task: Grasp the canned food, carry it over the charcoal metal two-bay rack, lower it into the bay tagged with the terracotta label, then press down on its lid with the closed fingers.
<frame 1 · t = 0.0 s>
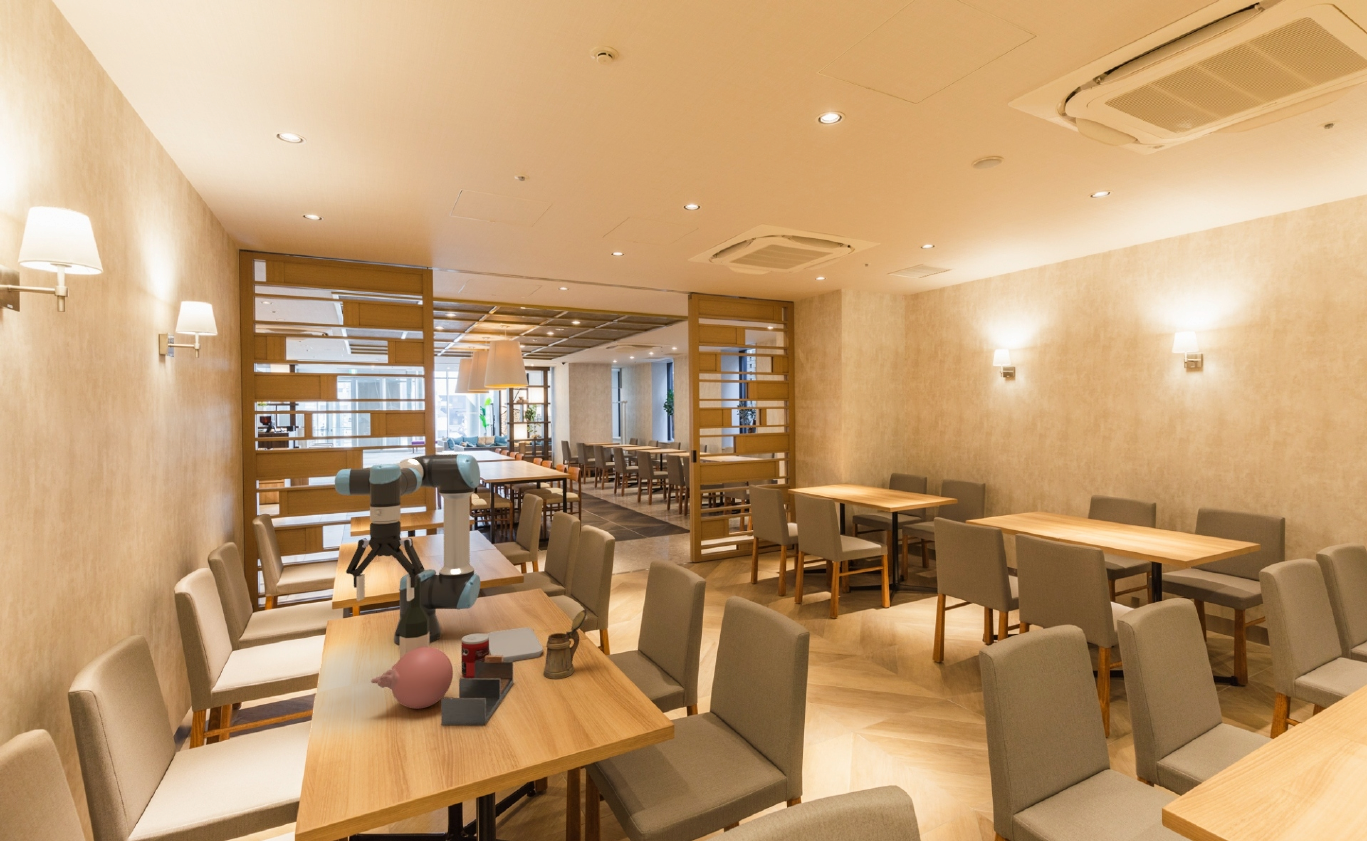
hand: (385, 599, 166), 28 cm above the table, fingers open, 13 cm apart
wine bottle: (414, 675, 184), on the table
canned food: (475, 674, 185), on the table
balloon: (412, 708, 163), on the table
wooden mug: (565, 672, 187), on the table
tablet: (513, 648, 207), on the table
rack: (479, 702, 166), on the table
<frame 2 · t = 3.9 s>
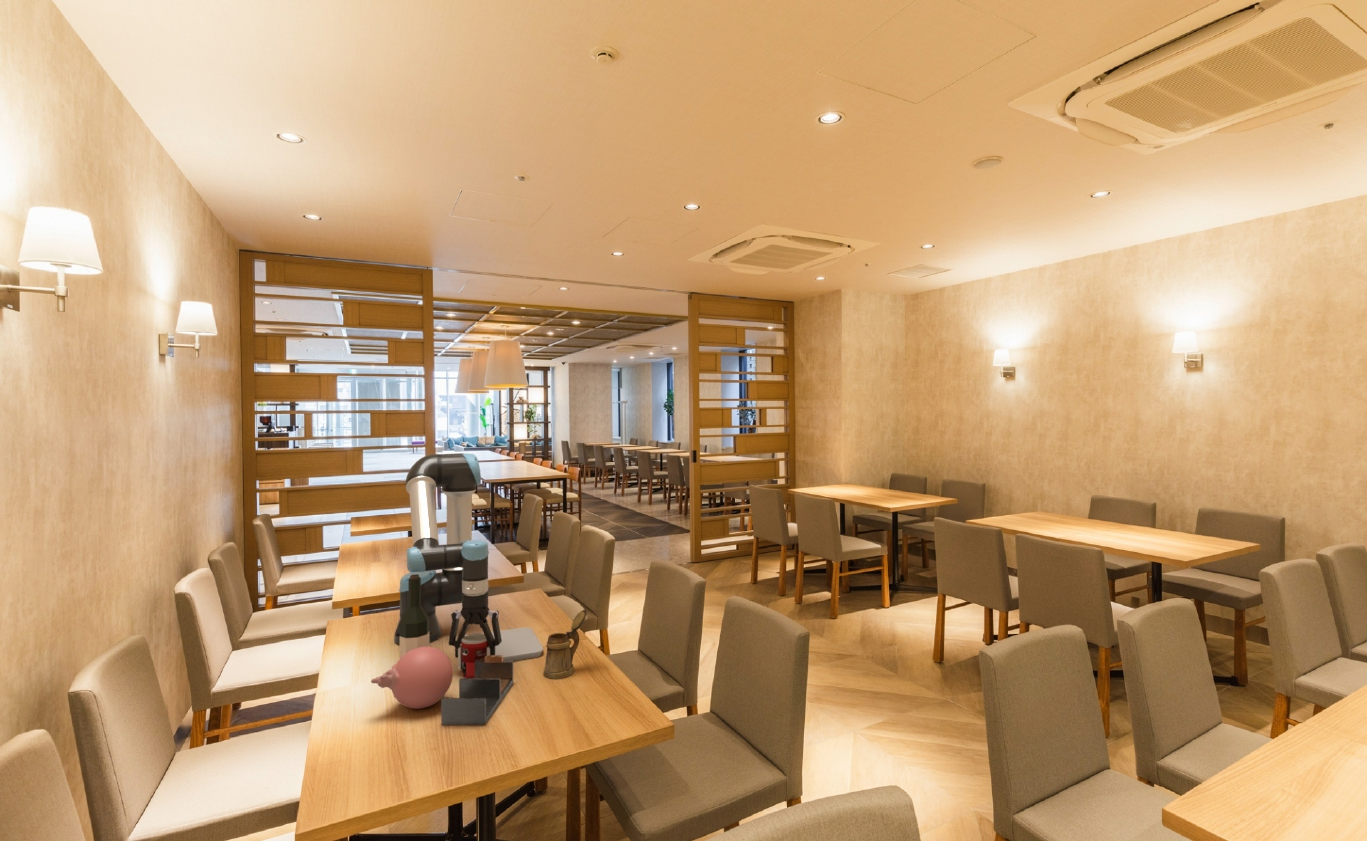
hand: (475, 667, 185), 2 cm above the table, fingers closed on canned food, 8 cm apart
canned food: (475, 674, 185), on the table, touching gripper
everything else where it was.
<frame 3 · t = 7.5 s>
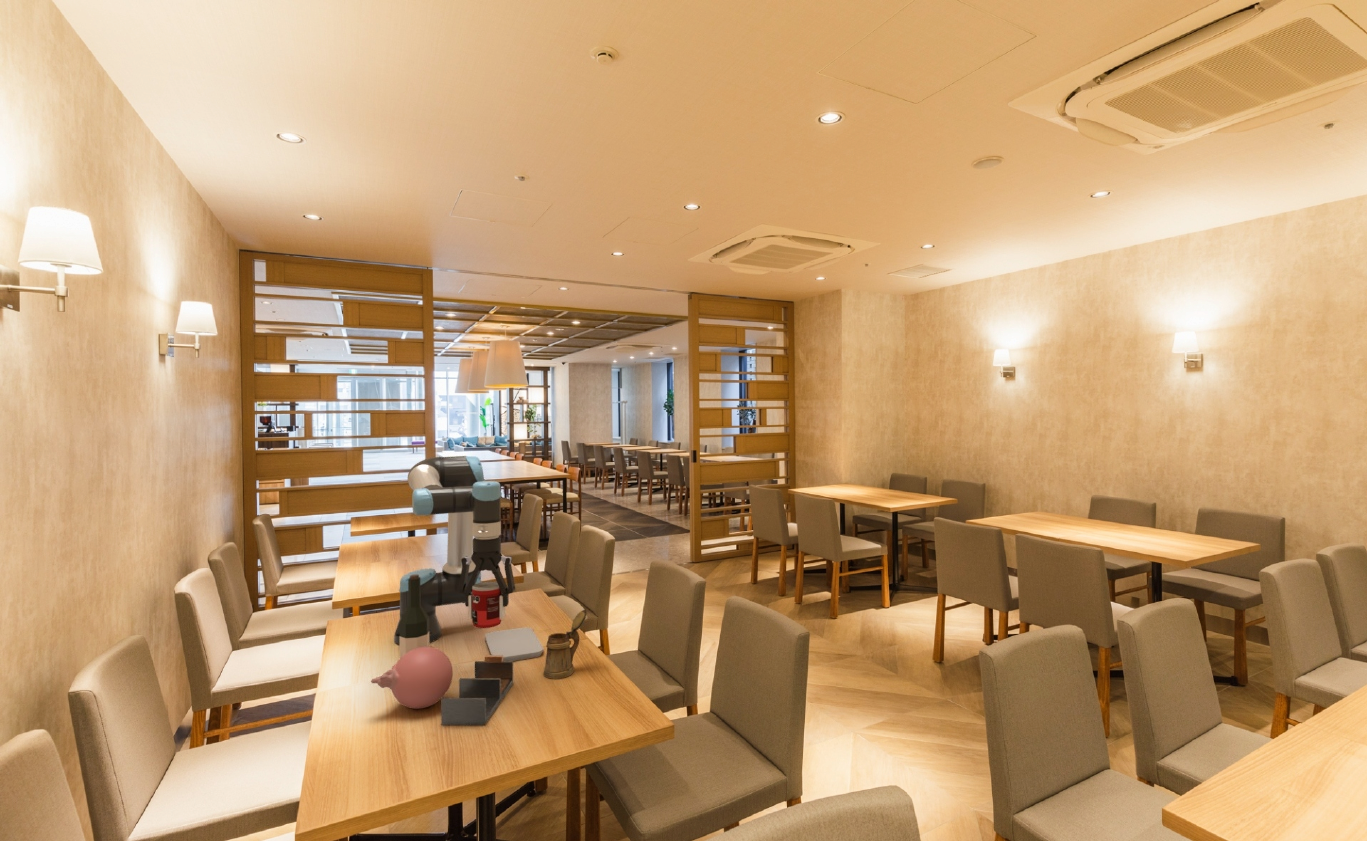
hand: (487, 617, 172), 21 cm above the table, fingers closed on canned food, 8 cm apart
canned food: (487, 624, 172), point 19 cm above the table, touching gripper
everything else where it was.
when the fingers open (5 cm above the table, at t = 11.0 s): canned food drops 1 cm, resting on rack.
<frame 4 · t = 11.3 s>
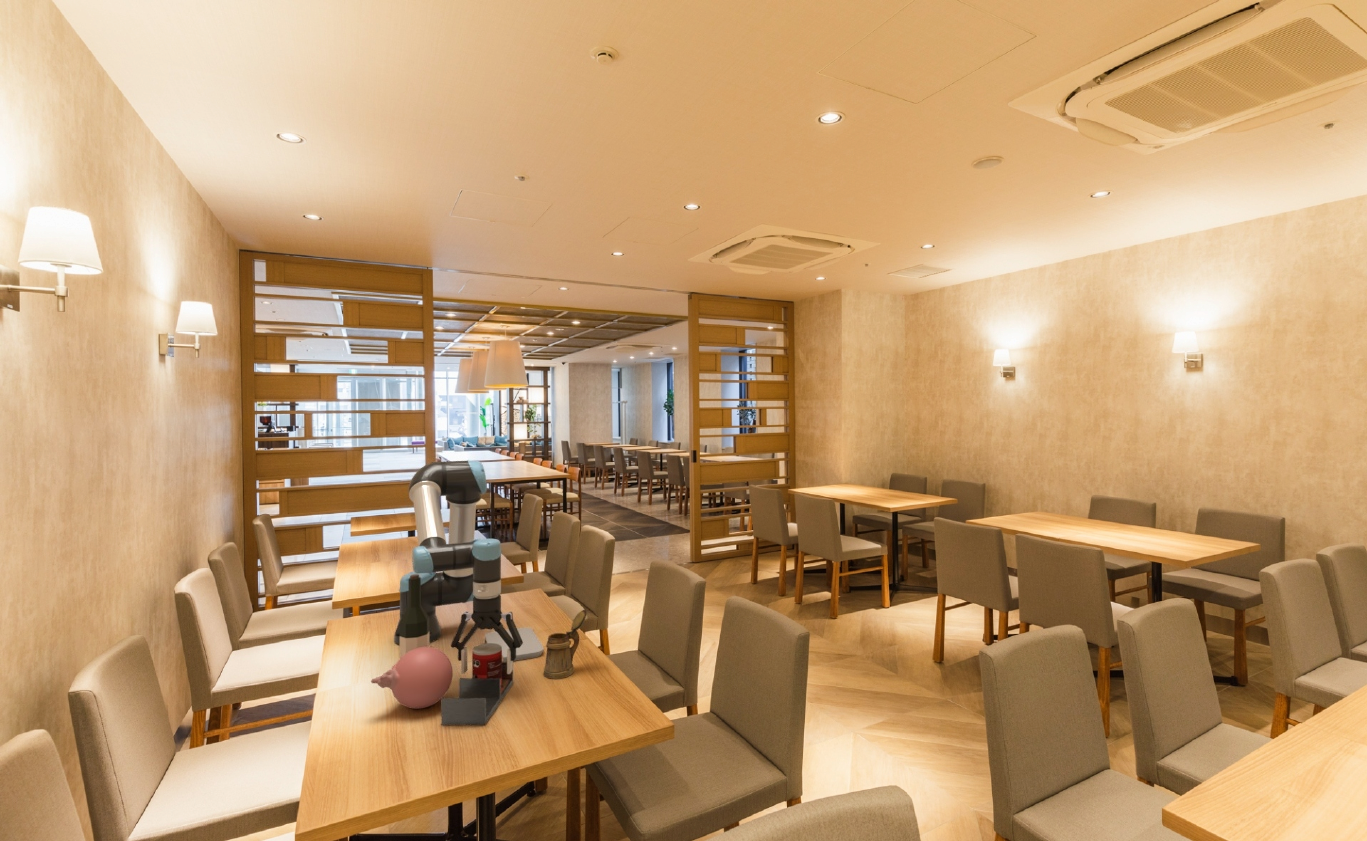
hand: (487, 672, 172), 6 cm above the table, fingers open, 12 cm apart
canned food: (487, 687, 172), point 2 cm above the table, touching rack
everything else where it was.
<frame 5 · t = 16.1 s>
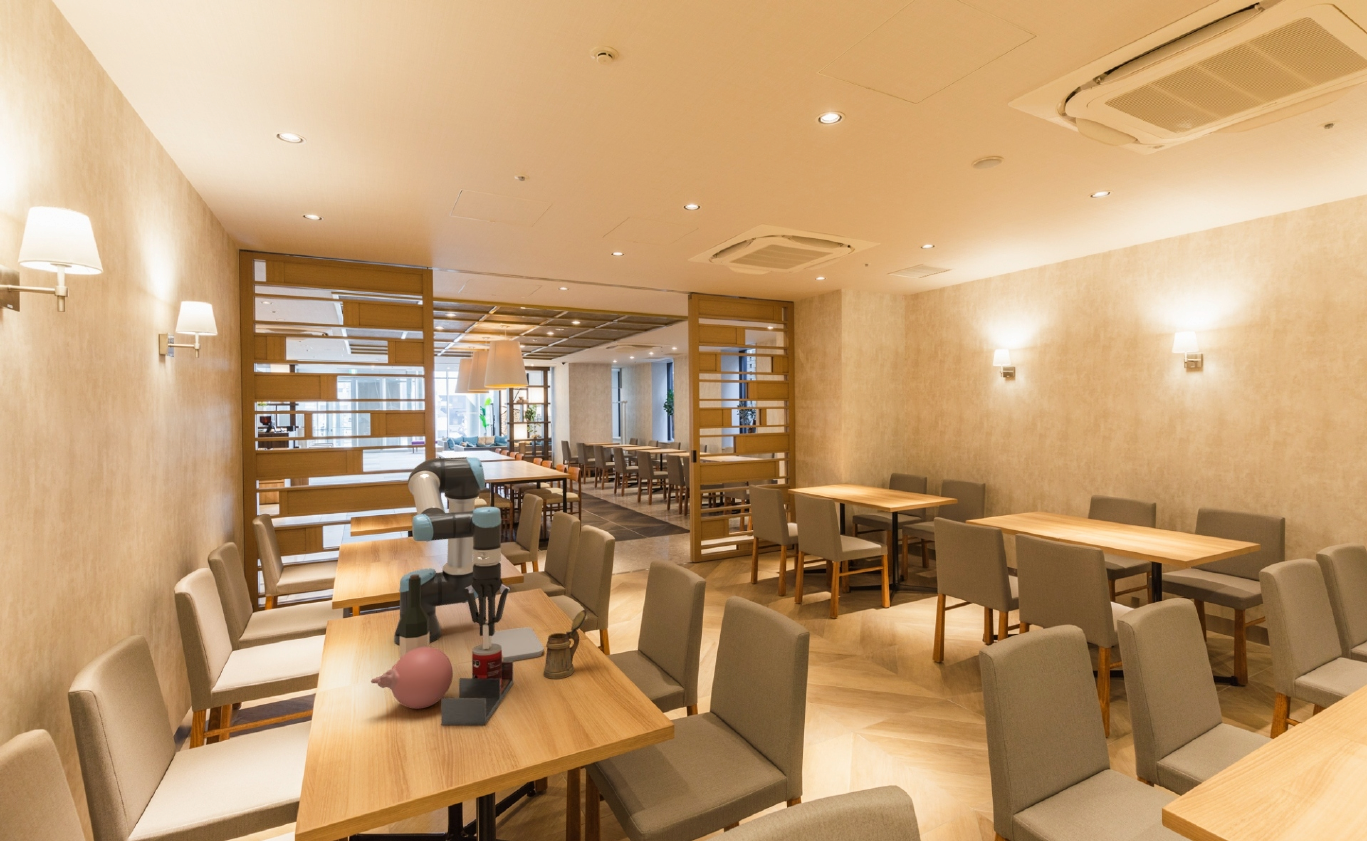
hand: (487, 647, 172), 13 cm above the table, fingers closed
canned food: (487, 687, 172), point 2 cm above the table, touching gripper, rack
everything else where it was.
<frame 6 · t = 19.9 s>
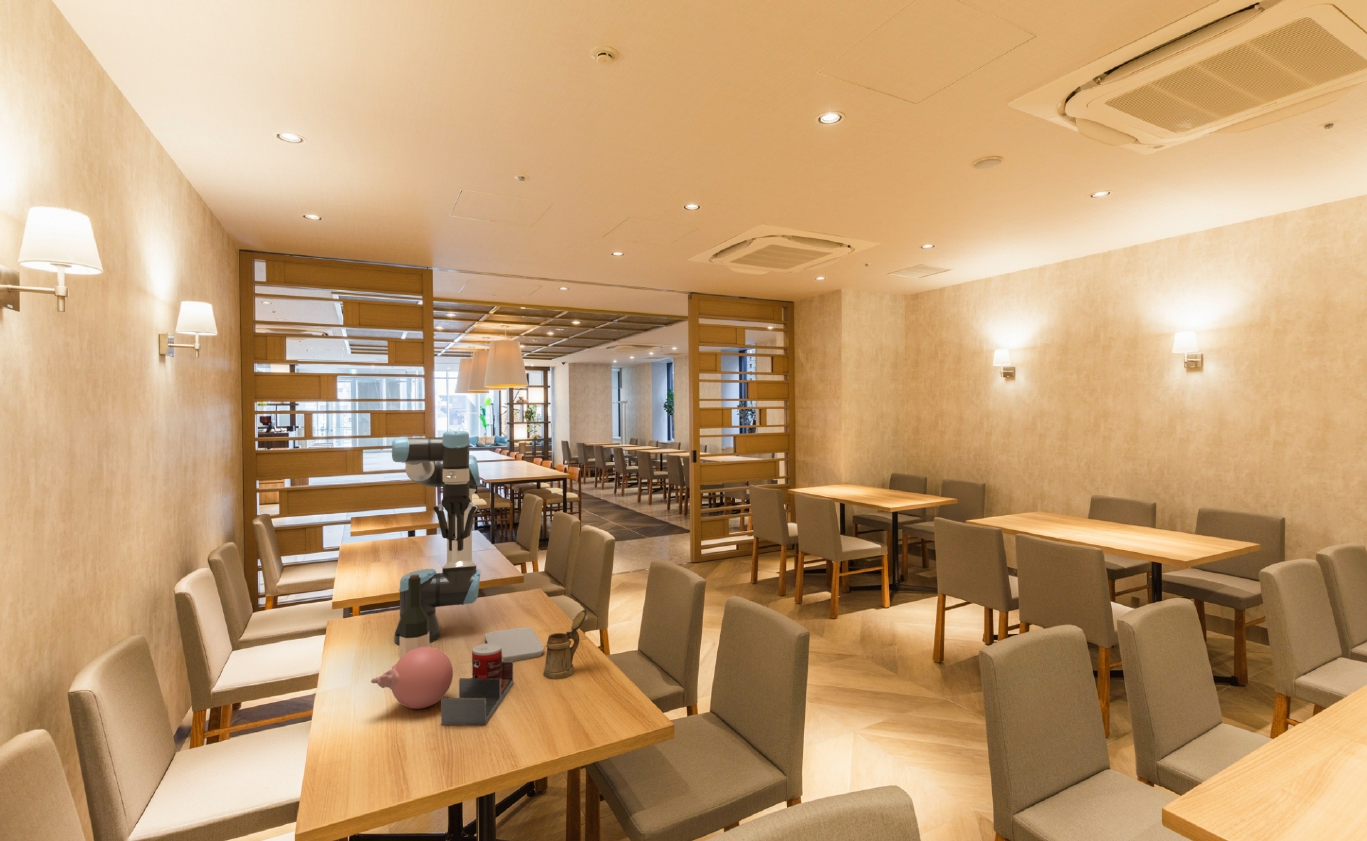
hand: (456, 561, 183), 34 cm above the table, fingers closed
canned food: (487, 687, 172), point 2 cm above the table, touching rack
everything else where it was.
at the end: canned food inside the target area on the rack (0.0 cm from its centre), point 1.5 cm above the rack's base; canned food tilted 0°; the gripper is holding nothing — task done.
